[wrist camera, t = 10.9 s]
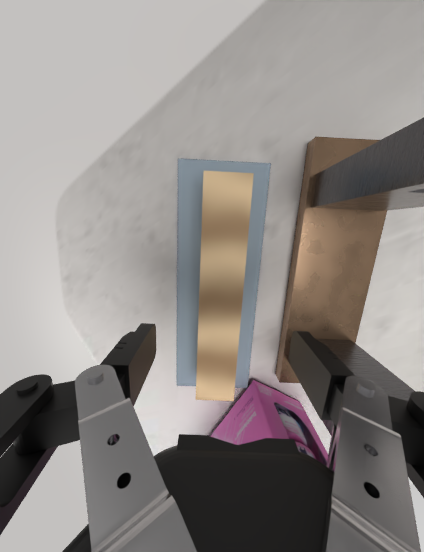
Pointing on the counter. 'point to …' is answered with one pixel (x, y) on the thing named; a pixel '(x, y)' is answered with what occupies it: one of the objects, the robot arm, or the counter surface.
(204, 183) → the oak rail
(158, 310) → the counter surface
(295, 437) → the gum box
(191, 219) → the slate mat
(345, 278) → the hook rack
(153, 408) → the counter surface
